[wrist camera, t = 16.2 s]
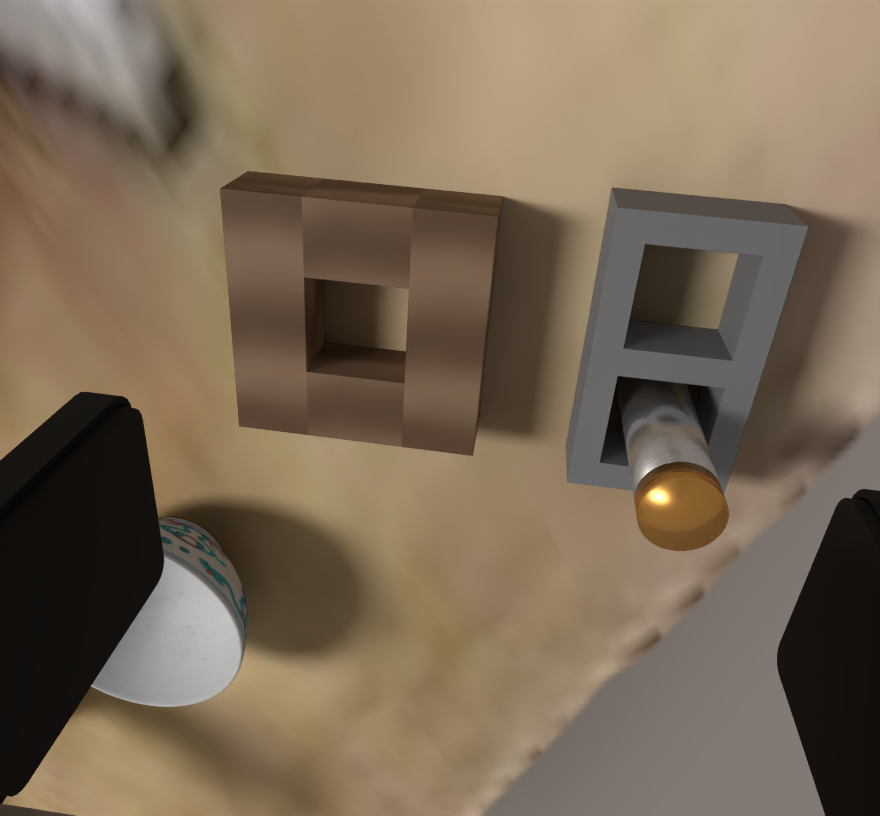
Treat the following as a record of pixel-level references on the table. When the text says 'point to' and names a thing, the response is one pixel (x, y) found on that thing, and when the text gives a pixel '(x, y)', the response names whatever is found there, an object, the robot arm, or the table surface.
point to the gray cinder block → (680, 347)
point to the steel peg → (670, 466)
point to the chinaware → (182, 627)
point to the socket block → (367, 262)
